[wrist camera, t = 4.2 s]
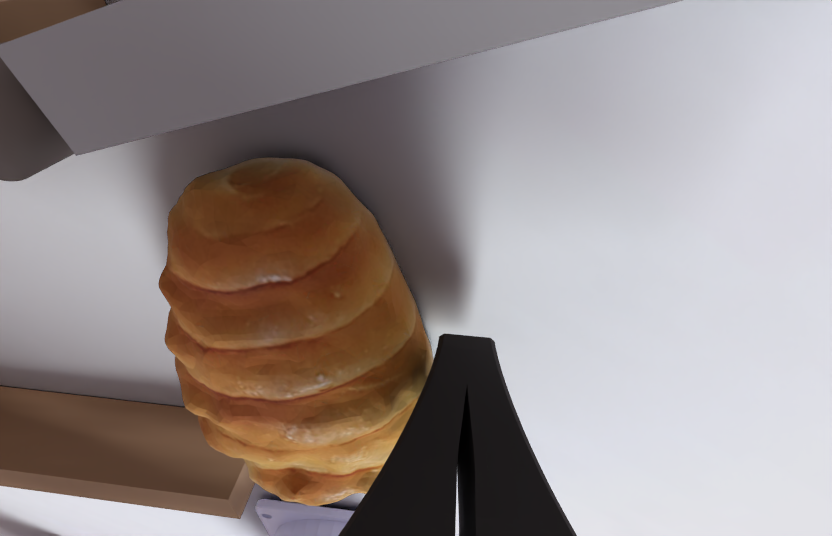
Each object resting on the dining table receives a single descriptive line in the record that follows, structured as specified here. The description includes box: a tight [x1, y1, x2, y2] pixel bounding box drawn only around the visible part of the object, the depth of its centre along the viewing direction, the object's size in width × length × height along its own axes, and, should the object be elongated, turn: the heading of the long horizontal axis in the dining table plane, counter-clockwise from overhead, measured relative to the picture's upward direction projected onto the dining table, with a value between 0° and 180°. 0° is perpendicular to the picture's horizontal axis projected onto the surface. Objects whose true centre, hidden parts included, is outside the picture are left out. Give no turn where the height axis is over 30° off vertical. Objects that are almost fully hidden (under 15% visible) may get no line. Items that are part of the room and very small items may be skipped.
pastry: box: [159, 157, 434, 506], centre depth 10 cm, size 9×7×4 cm
